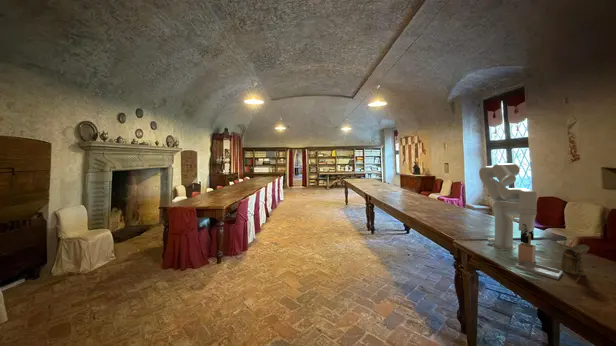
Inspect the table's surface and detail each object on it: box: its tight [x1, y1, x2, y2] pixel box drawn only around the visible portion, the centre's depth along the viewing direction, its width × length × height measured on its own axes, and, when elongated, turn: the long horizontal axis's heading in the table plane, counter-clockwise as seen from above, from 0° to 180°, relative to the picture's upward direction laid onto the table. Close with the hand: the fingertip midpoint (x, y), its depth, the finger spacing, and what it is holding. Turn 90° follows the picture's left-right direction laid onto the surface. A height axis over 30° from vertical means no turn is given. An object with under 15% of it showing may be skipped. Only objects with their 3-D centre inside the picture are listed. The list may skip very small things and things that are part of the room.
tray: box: [514, 260, 564, 280], centre depth 121 cm, size 16×10×2 cm, turn 33°
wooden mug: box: [558, 243, 591, 277], centre depth 117 cm, size 9×14×18 cm, turn 154°
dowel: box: [522, 233, 532, 247], centre depth 132 cm, size 3×3×16 cm
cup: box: [517, 242, 537, 264], centre depth 132 cm, size 6×6×10 cm
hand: (527, 240), depth 132 cm, fingers open, 9 cm apart
